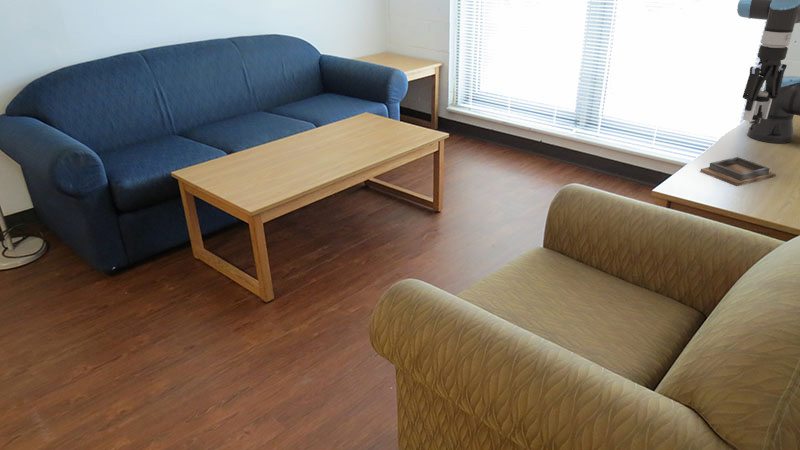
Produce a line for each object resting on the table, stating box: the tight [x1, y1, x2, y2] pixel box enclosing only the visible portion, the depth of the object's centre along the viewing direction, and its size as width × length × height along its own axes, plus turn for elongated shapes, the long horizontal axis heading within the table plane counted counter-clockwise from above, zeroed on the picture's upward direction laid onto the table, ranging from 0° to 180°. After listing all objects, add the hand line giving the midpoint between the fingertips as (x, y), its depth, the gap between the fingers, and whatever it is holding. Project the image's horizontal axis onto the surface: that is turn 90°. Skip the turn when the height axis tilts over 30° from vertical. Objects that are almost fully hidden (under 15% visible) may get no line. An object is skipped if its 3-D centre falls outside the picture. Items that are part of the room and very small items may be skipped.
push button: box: [749, 90, 771, 125], centre depth 190 cm, size 7×5×10 cm
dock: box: [699, 156, 777, 187], centre depth 197 cm, size 18×14×3 cm
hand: (754, 119), depth 192 cm, fingers closed on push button, 6 cm apart
